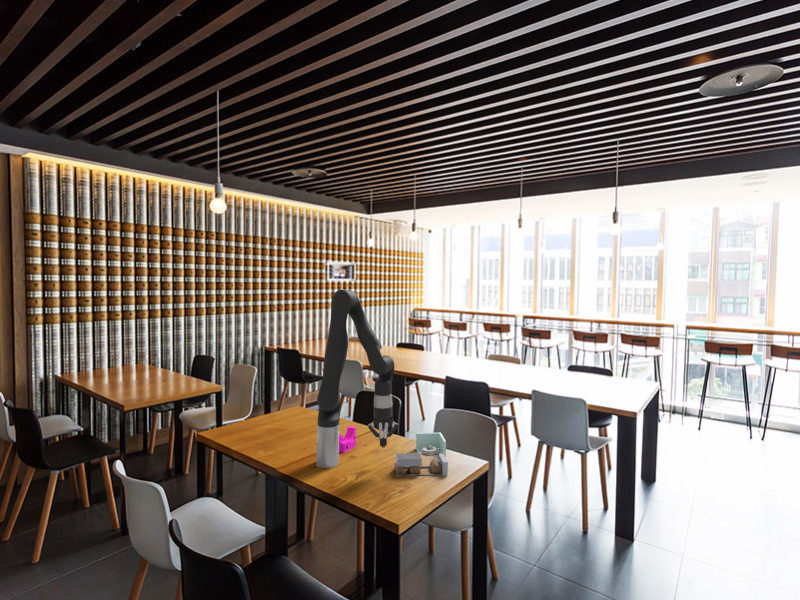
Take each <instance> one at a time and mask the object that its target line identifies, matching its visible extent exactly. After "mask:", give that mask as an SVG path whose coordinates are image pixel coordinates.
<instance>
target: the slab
mask: <svg viewBox="0 0 800 600" xmlns="http://www.w3.org/2000/svg"><path fill="white" fill-rule="evenodd" d="M422 459H423V458H422V456H421V454H420V453H417V452H416V453H415V452H413V453H409V452H408V453H396V454H395V463H396V464H397V467H408V466H423V465H422V463H423V461H422Z"/></svg>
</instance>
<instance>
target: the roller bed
mask: <svg viewBox="0 0 800 600" xmlns="http://www.w3.org/2000/svg"><path fill="white" fill-rule="evenodd" d="M438 461H439V460H437V459H431V461H430V463H429V465H422V466H408V467H397V464H396V462H394V470H395V476H396V477H424V476H425V477H429V476H432V477H434V476H438V475H442V476H443V474H442V468H441V466H440V464H439V462H438ZM406 469H409V471H410V473H409V474H406V472H407V470H406ZM421 469H429V472H430V473H422V472H421ZM438 477H439V476H438Z"/></svg>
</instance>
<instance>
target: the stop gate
mask: <svg viewBox="0 0 800 600" xmlns="http://www.w3.org/2000/svg"><path fill="white" fill-rule="evenodd" d="M437 461H438V462H439V464H440V466H441V468H442V474H443V475H448V471H449V470H448V469H449V462H448V460H447V458H445V456H444V454H441V453H438V460H437ZM443 475H442V476H443ZM448 476H449V475H448Z"/></svg>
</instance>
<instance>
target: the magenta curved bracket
mask: <svg viewBox="0 0 800 600" xmlns="http://www.w3.org/2000/svg"><path fill="white" fill-rule="evenodd" d="M356 442H357V427H356V426H351V425H349V426H347V428H346V432H345V435H344V434H340V433H339V453H343V454H344V453H347V452H348V451H350V450H351V449H353V448H355V447H356V446H357V445H356Z"/></svg>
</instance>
